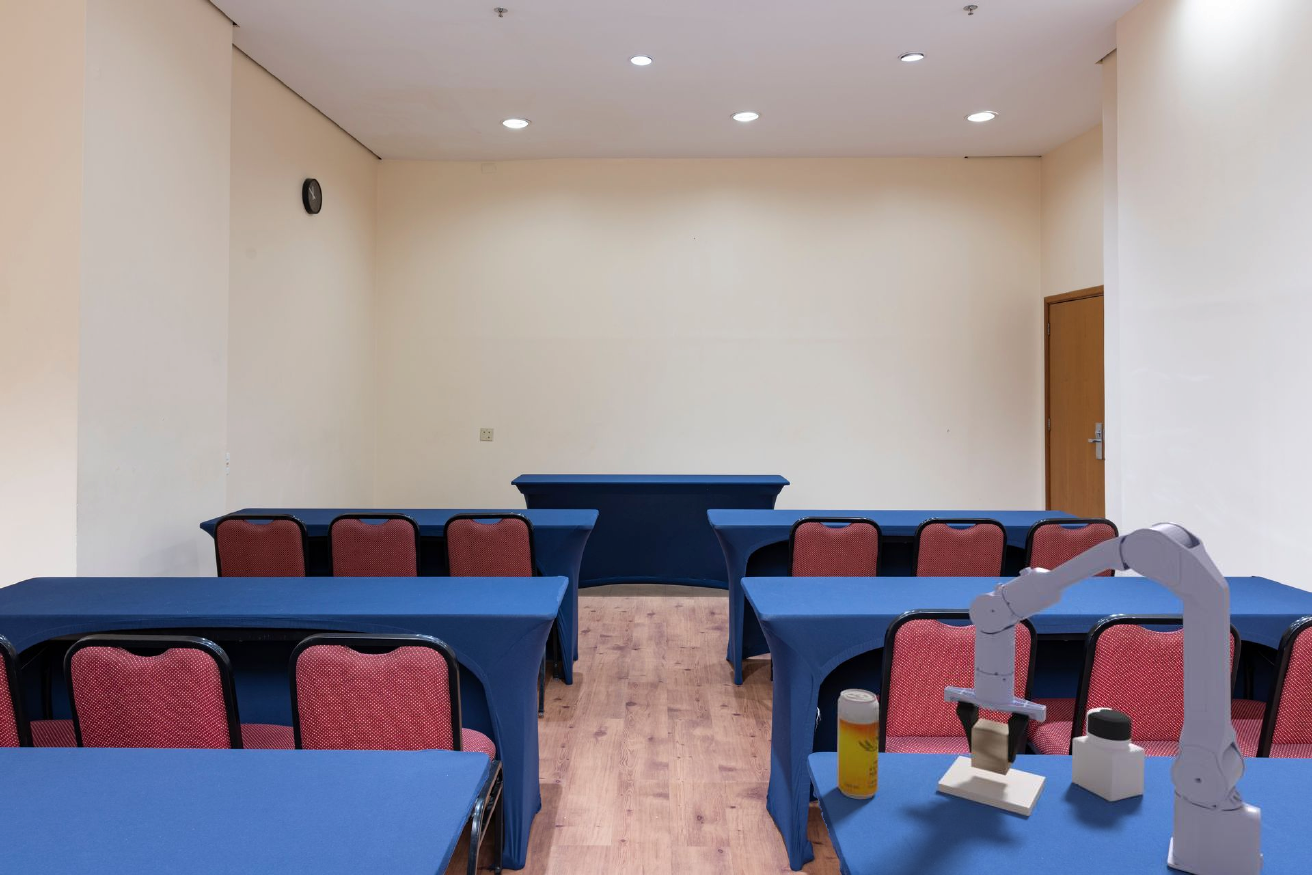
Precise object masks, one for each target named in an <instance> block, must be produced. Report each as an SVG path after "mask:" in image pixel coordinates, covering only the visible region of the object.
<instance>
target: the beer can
mask: <svg viewBox="0 0 1312 875" xmlns="http://www.w3.org/2000/svg"><path fill="white" fill-rule="evenodd" d="M879 708H880V703H879V702H878V699H877V695H876V694H875V693H873V692H871V691H869V690H865V689H861V688H860V689H858V688H849V689H845V690H843V691H841V692H840V695H839V697H838V699H837V742H836V743H837V744H836V745H837V746H836V747H837V750H836V751H837V752H836V753H837V754H836V759H837V760H836V761H837V762H836V766H837V767H836V770H837V771H836V786H837V787H838V789H839V790H840V792H841V793H842V795H844V796H846V797H848V798H852V799H856V800H867V799H870V798H872V797H873V796H874V795H875V793H876V792H878V788H879V732H880V731H879V729H880V728H879V727H880V726H879V725H880V724H879V723H880V718H879V717H880V716H879V714H880V709H879Z"/></svg>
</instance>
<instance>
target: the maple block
mask: <svg viewBox="0 0 1312 875" xmlns="http://www.w3.org/2000/svg"><path fill="white" fill-rule="evenodd" d="M1008 748H1009V731H1008V723H1004V722H999V721H994V720H990V719H984V718H978V722H977V723H976V724H975V725H974V726H973V728H972V748H971V753H970V758H971V767H974V768H978V769H982V770H986V771H990V772H994V773H998V774H1002V775H1005V776H1006V774H1007V773H1008V771H1009V769H1010V768H1011V769H1012V766H1013V765H1014V763H1009V762H1008Z"/></svg>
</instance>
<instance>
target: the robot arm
mask: <svg viewBox="0 0 1312 875" xmlns="http://www.w3.org/2000/svg"><path fill="white" fill-rule="evenodd" d="M1109 569H1110V570H1114V571H1121V572H1126V571H1128V570H1132V571H1133V572H1135V573H1137V574H1138V575H1140V576H1143V577H1145V578H1146V579H1149V580H1151V581H1154V582H1156V583H1158V584H1160V585H1162V586H1164V587H1165V589H1167V590H1169V591H1170V592H1171V594H1174V596H1176V597H1177V598H1178V599H1179V600H1181V602H1182V637H1183V638H1182V640H1183V642H1182V644H1183V648H1182V650H1183V656H1182V657H1183V662H1182V663H1183V725H1182V729H1181V732H1180V735H1179V740H1178V753H1177V755H1176V757H1175V759H1174V760H1173V761H1172V762H1171V766H1170V769H1169V770H1170V772H1169V773H1170V777H1171V778H1170V779H1171V781H1172V784H1173V785H1174V789H1173V794H1174V795H1173V819H1172V821H1173V825H1172V826H1173V827H1172V837H1170V841H1169V847H1168V854H1167V861H1166V865H1167V866H1168V867H1170V868H1173V869H1176V870H1181V871H1184V872H1188V873H1190V874H1194V875H1260V871H1261V870H1263V868H1264V867H1263V866H1264V854H1263V853H1261V849H1262V848H1261V846H1262V845H1261V843H1262V810H1261V808H1259V807H1257V806H1254V805H1252V804H1249V803H1246V802H1244V801H1243V797H1242V796H1241V794H1240V792H1239V789H1238V788H1237V786H1236V784H1237V782H1238V781H1240V780H1241V779H1242V777H1244V775H1245V772H1246V760H1245V758H1244V755H1243V753H1242V752H1241V750H1240V748H1239V746H1238V740H1237V731H1236V730H1235V728H1234V726H1233V725H1232V722H1231V721H1232V714H1231V713H1232V712H1231V710H1232V709H1231V707H1232V706H1231V703H1232V702H1231V701H1232V700H1231V699H1232V698H1231V696H1232V695H1231V694H1232V693H1231V690H1232V689H1231V604H1230V603H1231V594H1230V593H1231V592H1230V591H1231V590H1230V586H1229V584H1228V582H1227V580H1226V578H1225V577H1224V576H1223V574H1222V572H1220V569H1218V567H1217V566H1216V564H1215V563H1214V561H1213V559H1212V558H1211V557H1210V555H1209V553H1208V552H1207V551H1206V549H1205V545H1204V542H1203V541H1202V539H1201V538H1200V537H1198V536H1197V535H1196V534H1194V533H1192V531H1190V530H1188V529H1187V528H1185V527H1184V526H1182V525H1180V524H1178V523H1175V522H1170V521H1163V522H1157V523H1155V524H1152V525H1151V526H1149V527H1145V528H1143V527H1142V528H1139V529H1136V530H1133V531H1132V532H1130V533H1127V534H1126V533H1125V534H1123V535H1120V536H1117V537H1114V538H1111V539H1107V540H1105V541H1102V542H1099V543H1098V544H1096V545H1094V546H1092V547H1091V548H1088V549H1087V550H1085V551H1083V552H1082V553H1080V554H1079V555H1076V556H1075V557H1073V558H1071V559H1069V560H1068V561H1066V562H1063V563H1062V564H1060V565H1058V566H1057V567H1055V568H1053V569H1051V570H1050V569H1046V568H1044V567H1043V568H1042V567H1035V568H1031V567H1030V566H1029V567H1025V568H1023V569H1021V570H1020V571H1019V574H1020V575H1019V576H1017V577H1016V578H1014V579H1012V580H1010V581H1008V582H1006V583H1003V582H998V583H997V584H996V585H994V586H993V587H994V590H993V591H991V592H987V593H980V594H978V595H977V596H976V597H975V598H974V599H973V600H972V601H971V602H970V605H969V608H968V615H969V619H970V621H971V623H972V624H973V625H974V627H975V628H974V629H975V632H974V633H975V634H974V665H973V666H974V678H973V681H974V682H973V683H974V684H973V688H966V687H956V686H949V685H947V686H946V687H945V688H944V690H943V701H944V702H947V703H951V702H955V703H957V706H956V708H955V712H956V716H957V717H958V719H959V721H960V723H961V725H962V727H963V730H964V732H965V733H964V734H965V737H966V740H967V746H968V750H969V754H971V748H972V728H973V726H974V725H975V724H976V723H977V722H978V720H979V713H980V708H981V709H985V710H988V711H994V712H995V711H996V712H1000V713H1006V714H1009V715H1011V716H1010V717H1009V718H1008V719H1007V724H1008V731H1009V748H1008V762H1009V763H1013V764H1014V762H1015V761H1016V759H1017V753H1018V748H1019V744H1020V742H1021V739H1022V737H1023V734H1024V733H1025V730H1026V728H1027V726H1028V725H1029V723H1030V721H1031V719H1033V720H1035V721H1036V722H1040V723H1044V722H1045V720H1046V718H1047V706H1046V705H1043V704H1038V703H1035V702H1032V701H1029V700H1026V699H1023V698H1019V697H1017V696H1015V664H1016V663H1015V661H1016V660H1015V659H1016V658H1015V657H1016V626H1017V625H1018V624H1019V623H1020V621H1023V620H1025V619H1028V618H1030V617H1032V616H1034V615H1037V614H1038V613H1040V612H1043V611H1044V610H1046V609H1048V608H1051V607H1053V606H1055V605H1057V604H1059V603H1060V602H1061V601H1062V598H1063V593H1064V590H1066V589H1067V588H1069V587H1072V586H1074V585H1077V584H1078V583H1082V582H1083V581H1085V580H1087V579H1089V578H1092V577H1094V576H1096V575H1098V574H1100V573H1102V572H1105V571H1107V570H1109Z"/></svg>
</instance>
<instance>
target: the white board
mask: <svg viewBox="0 0 1312 875" xmlns="http://www.w3.org/2000/svg"><path fill="white" fill-rule="evenodd" d="M1045 786H1046V777H1045V776H1043V775H1037V774H1034V773H1030V772H1027V771H1023V770H1020V769H1019V770H1018V769H1015V768H1012V767H1011V768H1010V769H1009V771H1008V773H1007V774H1006V776H1005V775H1002V774H998V773H994V772H990V771H986V770H982V769H978V768H974V767H971V757H966V756H964V755H963V756H961V755H959V756H958V757H957V758H956V760H955V761H954V762H953V763H952V764H951V765H950V767H949V768H948V770H947V771H946V773H944V775H943V776H942V778H941V779H940V780H939V781H938V782H937V791H938V792H940V793H941V792H942V793H945V794H947V795H948V794H949V795H952V796H956V797H959V798H962V799H965V800H970V801H973V802H977V803H981V804H984V805H989V806H991V807H995V808H998V809H1002V810H1005V811H1008V812H1014V813H1016V814H1020V815H1023V816H1026V817H1030V816H1031V814H1032V812H1033V810H1034V808H1035V806H1036V804H1037V802H1038V799H1039V797H1040V796H1041V793H1042V792H1043V790H1044V788H1045Z"/></svg>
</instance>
